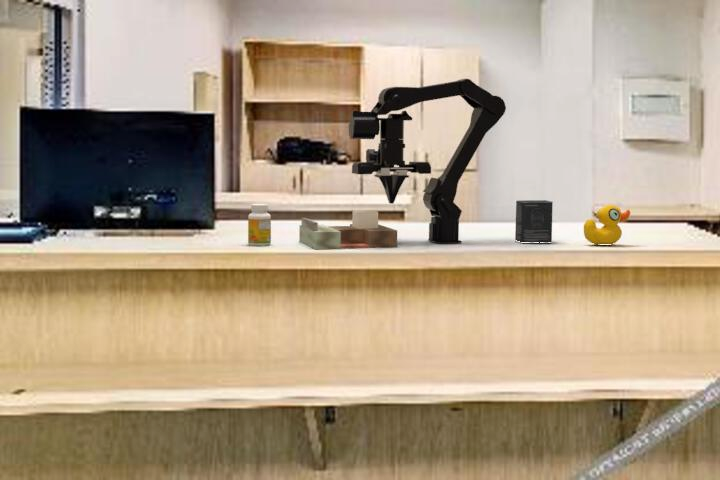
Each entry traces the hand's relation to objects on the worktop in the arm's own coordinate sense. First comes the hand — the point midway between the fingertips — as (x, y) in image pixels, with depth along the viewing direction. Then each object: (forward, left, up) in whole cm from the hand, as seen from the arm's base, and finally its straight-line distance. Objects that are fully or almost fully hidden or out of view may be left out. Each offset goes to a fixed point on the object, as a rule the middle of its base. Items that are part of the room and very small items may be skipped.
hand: (391, 203), depth 229 cm
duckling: (-51, +15, -10) cm, 54 cm away
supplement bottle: (+32, -3, -10) cm, 34 cm away
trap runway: (+11, 0, -10) cm, 15 cm away
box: (-36, +6, -10) cm, 38 cm away
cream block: (+7, 0, -6) cm, 9 cm away
